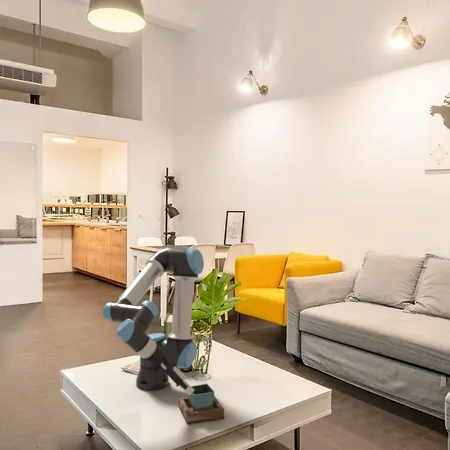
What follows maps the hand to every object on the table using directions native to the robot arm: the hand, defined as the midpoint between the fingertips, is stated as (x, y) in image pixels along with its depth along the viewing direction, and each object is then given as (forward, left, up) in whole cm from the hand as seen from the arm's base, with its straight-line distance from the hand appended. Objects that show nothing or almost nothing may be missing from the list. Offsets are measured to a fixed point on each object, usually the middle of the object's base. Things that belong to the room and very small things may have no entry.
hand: (187, 385), depth 178 cm
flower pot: (-1, +6, -12) cm, 13 cm away
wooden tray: (-1, +6, -12) cm, 14 cm away
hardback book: (-64, +7, -13) cm, 65 cm away
